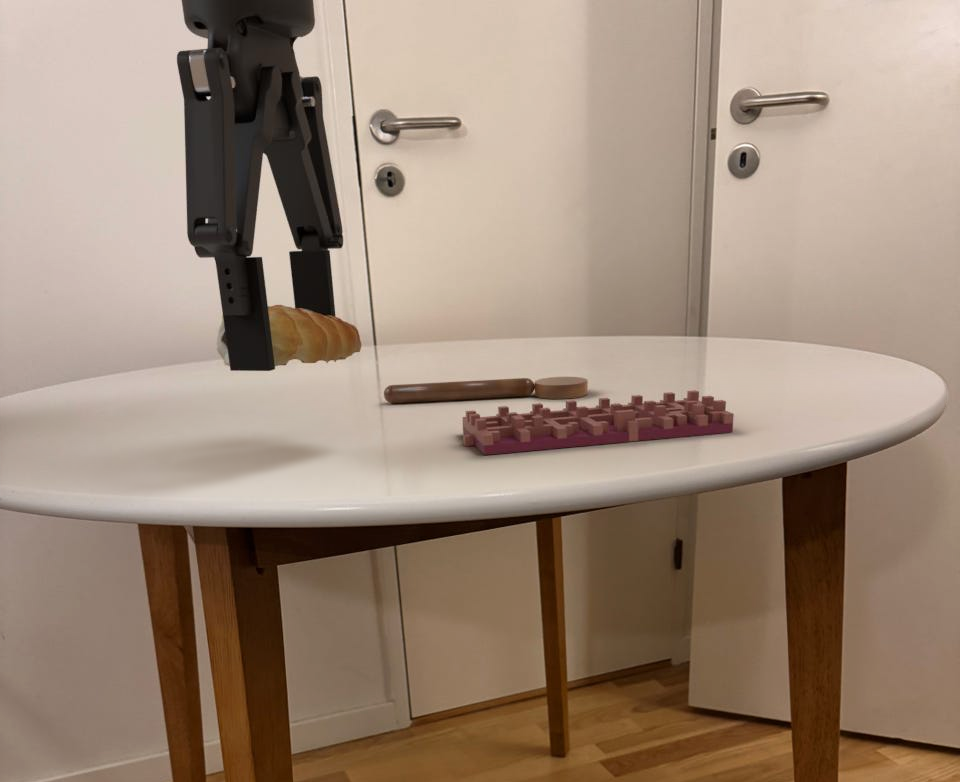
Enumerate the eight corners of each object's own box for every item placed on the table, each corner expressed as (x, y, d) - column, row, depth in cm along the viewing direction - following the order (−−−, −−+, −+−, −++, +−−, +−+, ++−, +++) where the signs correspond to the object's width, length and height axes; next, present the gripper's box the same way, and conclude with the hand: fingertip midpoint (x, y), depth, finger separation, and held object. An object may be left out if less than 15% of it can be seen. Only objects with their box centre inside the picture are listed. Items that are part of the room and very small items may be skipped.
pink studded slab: (454, 435, 70) (453, 408, 69) (690, 414, 74) (691, 389, 73) (474, 455, 64) (473, 427, 63) (732, 432, 67) (734, 404, 66)
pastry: (332, 350, 68) (327, 294, 66) (383, 359, 63) (379, 299, 62) (211, 364, 63) (202, 304, 61) (256, 375, 58) (248, 311, 56)
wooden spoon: (383, 408, 82) (381, 389, 81) (385, 399, 86) (384, 381, 86) (591, 397, 82) (591, 378, 82) (583, 388, 87) (583, 371, 86)
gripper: (200, -113, 43) (262, 386, 52) (373, -14, 62) (396, 338, 71) (61, -94, 45) (145, 385, 54) (271, -4, 64) (306, 338, 73)
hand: (288, 358), depth 63 cm, fingers closed on pastry, 9 cm apart
